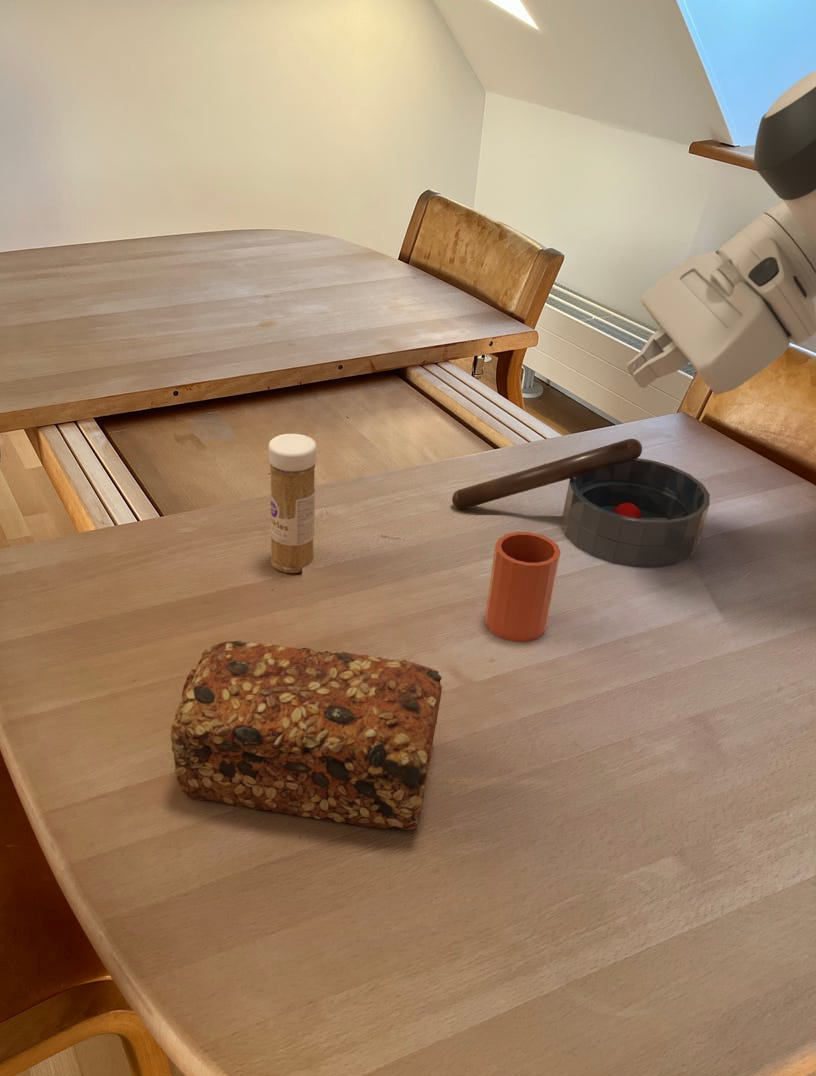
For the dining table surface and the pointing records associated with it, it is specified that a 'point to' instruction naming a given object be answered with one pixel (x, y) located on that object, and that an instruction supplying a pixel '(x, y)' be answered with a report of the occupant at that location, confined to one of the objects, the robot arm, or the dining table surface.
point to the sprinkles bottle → (292, 501)
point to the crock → (521, 586)
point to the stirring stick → (548, 473)
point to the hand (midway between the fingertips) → (633, 377)
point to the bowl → (633, 538)
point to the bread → (307, 732)
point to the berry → (628, 510)
